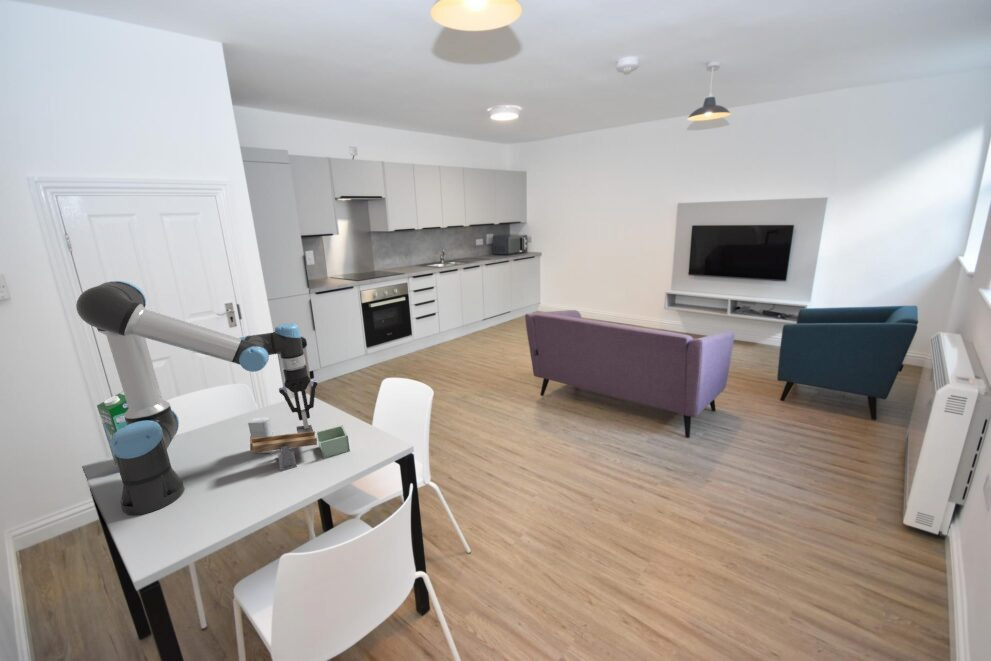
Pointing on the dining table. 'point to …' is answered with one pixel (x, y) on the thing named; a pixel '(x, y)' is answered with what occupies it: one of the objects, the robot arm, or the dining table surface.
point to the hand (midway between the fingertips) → (306, 426)
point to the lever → (284, 440)
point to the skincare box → (261, 428)
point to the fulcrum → (286, 458)
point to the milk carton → (113, 415)
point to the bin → (333, 441)
